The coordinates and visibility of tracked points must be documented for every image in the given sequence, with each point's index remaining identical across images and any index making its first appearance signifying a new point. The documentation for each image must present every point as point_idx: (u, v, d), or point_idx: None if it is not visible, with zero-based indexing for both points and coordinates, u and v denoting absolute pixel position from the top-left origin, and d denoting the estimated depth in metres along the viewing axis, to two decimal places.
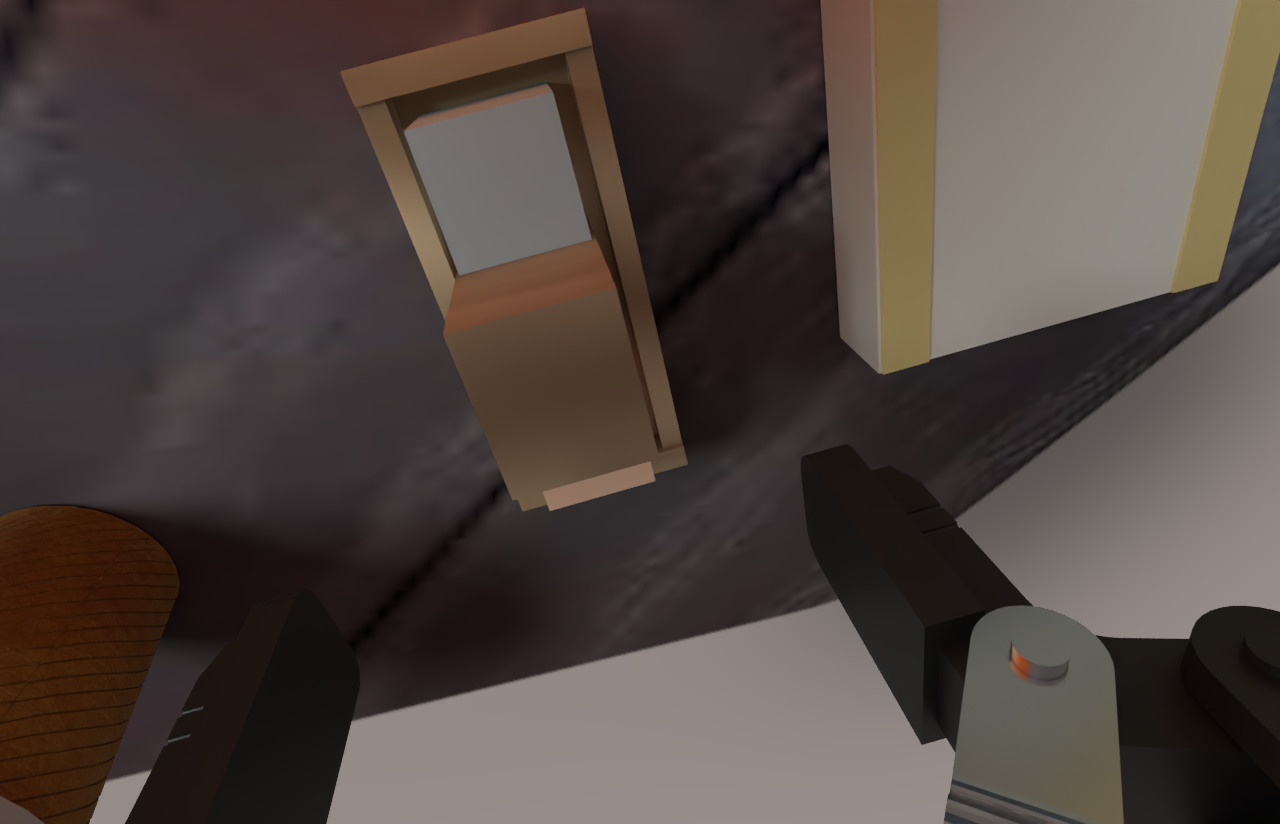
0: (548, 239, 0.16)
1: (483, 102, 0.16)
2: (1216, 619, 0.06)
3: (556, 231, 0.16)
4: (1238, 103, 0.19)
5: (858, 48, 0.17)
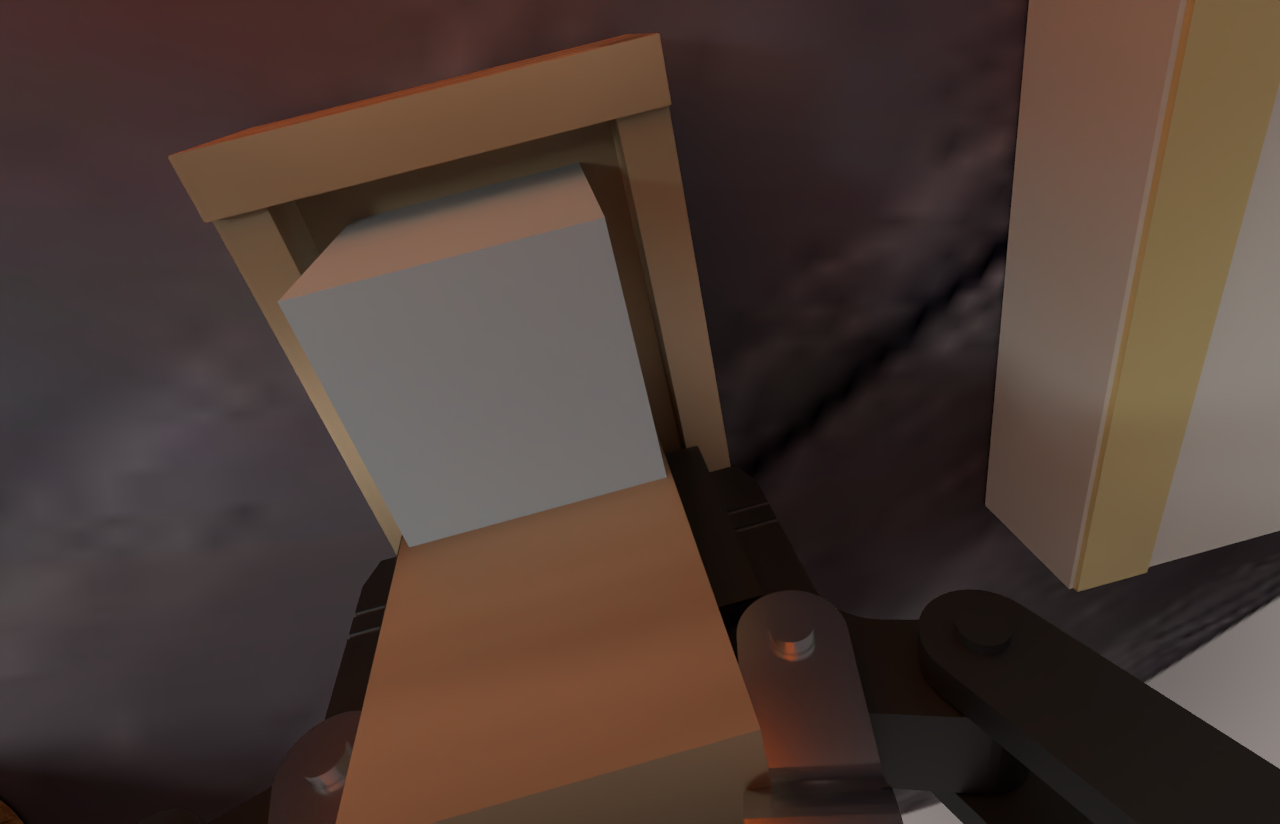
0: (583, 481, 0.08)
1: (461, 212, 0.08)
2: (933, 611, 0.07)
3: (599, 467, 0.08)
4: None
5: (1119, 112, 0.10)
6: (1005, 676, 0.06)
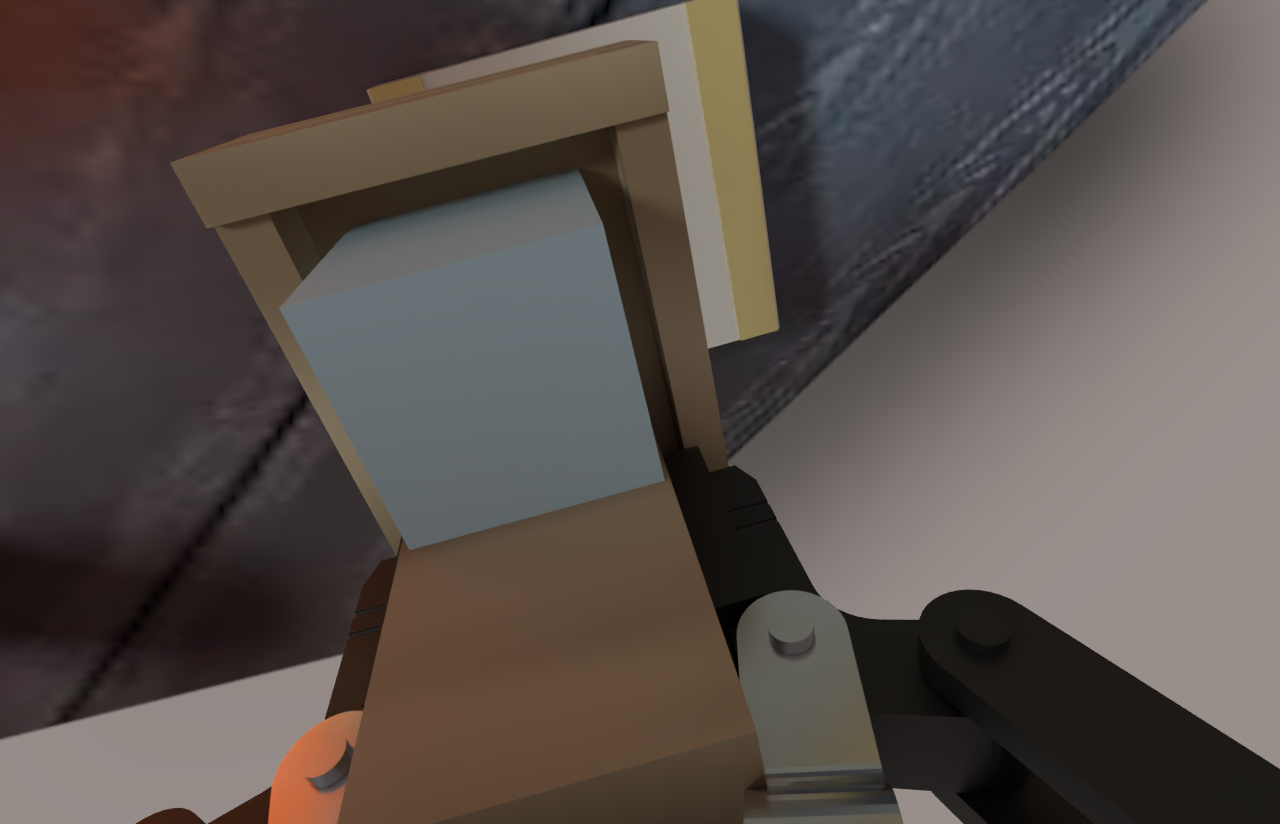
0: (582, 484, 0.08)
1: (461, 218, 0.08)
2: (933, 611, 0.07)
3: (598, 471, 0.08)
4: (736, 195, 0.24)
5: None
6: (1005, 676, 0.06)
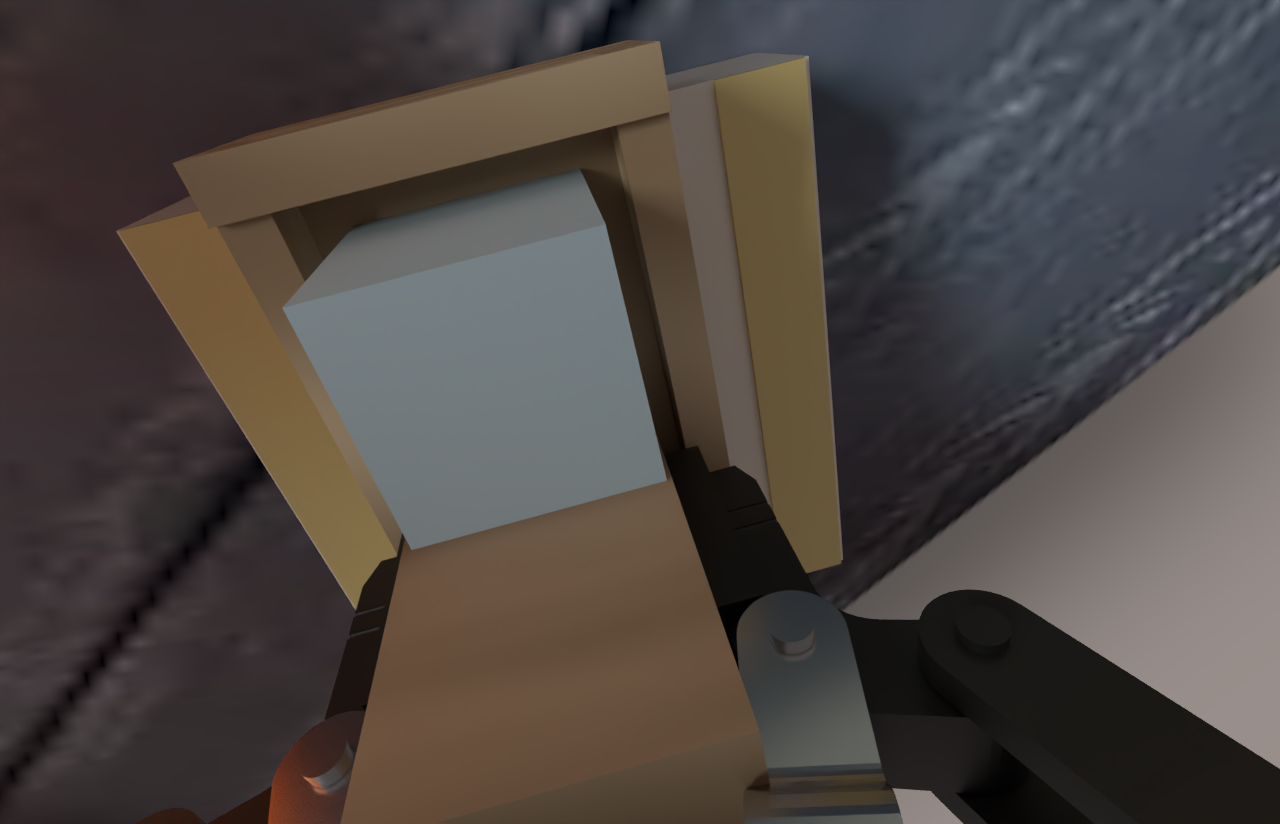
0: (584, 484, 0.08)
1: (463, 217, 0.08)
2: (933, 611, 0.07)
3: (600, 470, 0.08)
4: (788, 385, 0.14)
5: None
6: (1006, 676, 0.06)
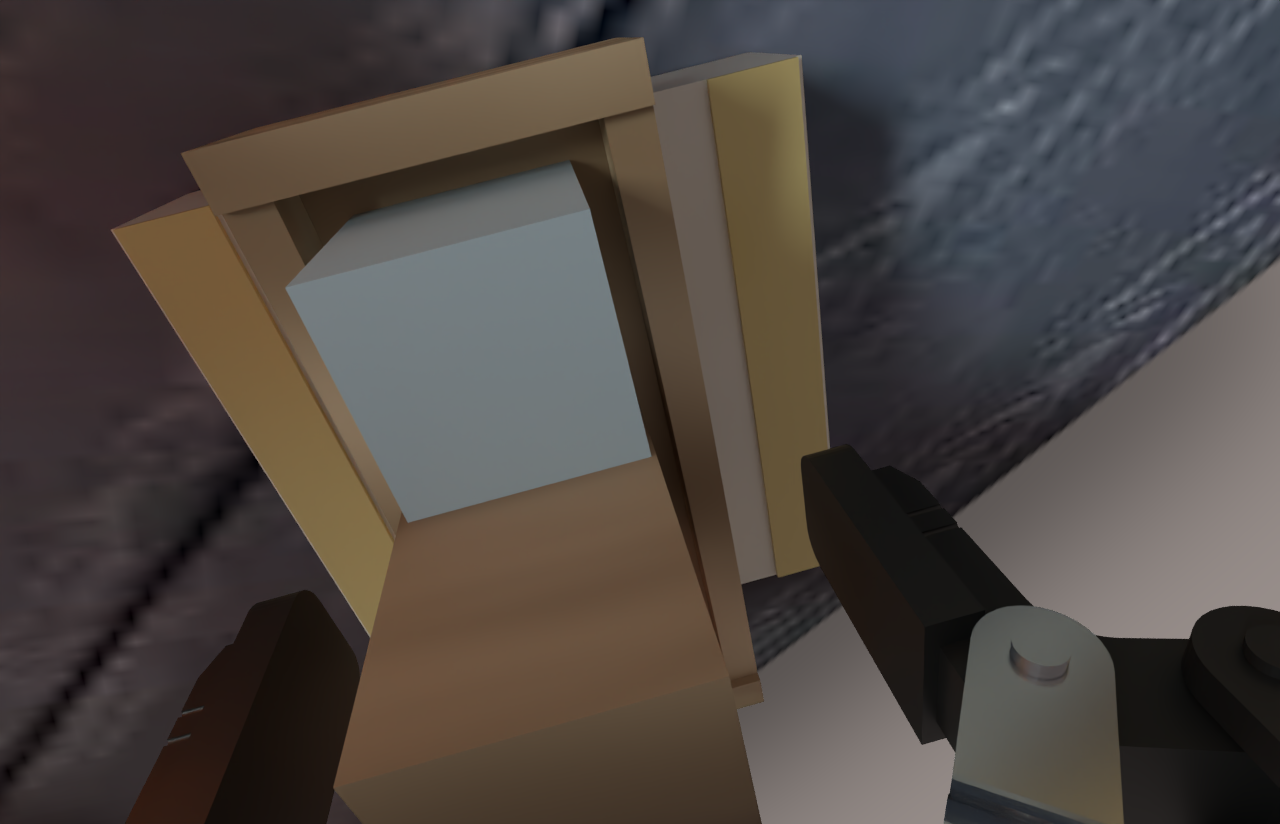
0: (572, 460, 0.09)
1: (457, 206, 0.09)
2: (1216, 619, 0.06)
3: (588, 446, 0.09)
4: (782, 384, 0.14)
5: None
6: None
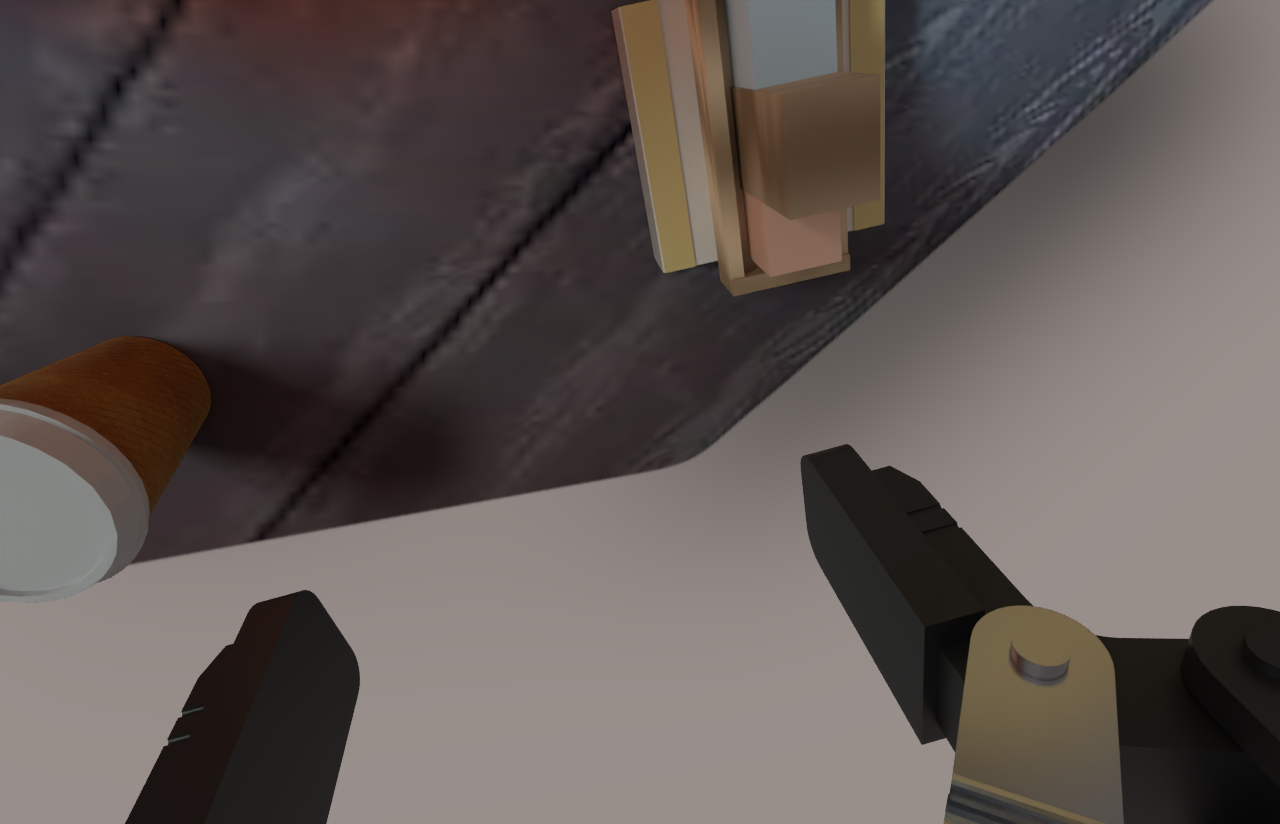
0: (812, 69, 0.26)
1: None
2: (1216, 619, 0.06)
3: (818, 64, 0.26)
4: None
5: (626, 67, 0.30)
6: None
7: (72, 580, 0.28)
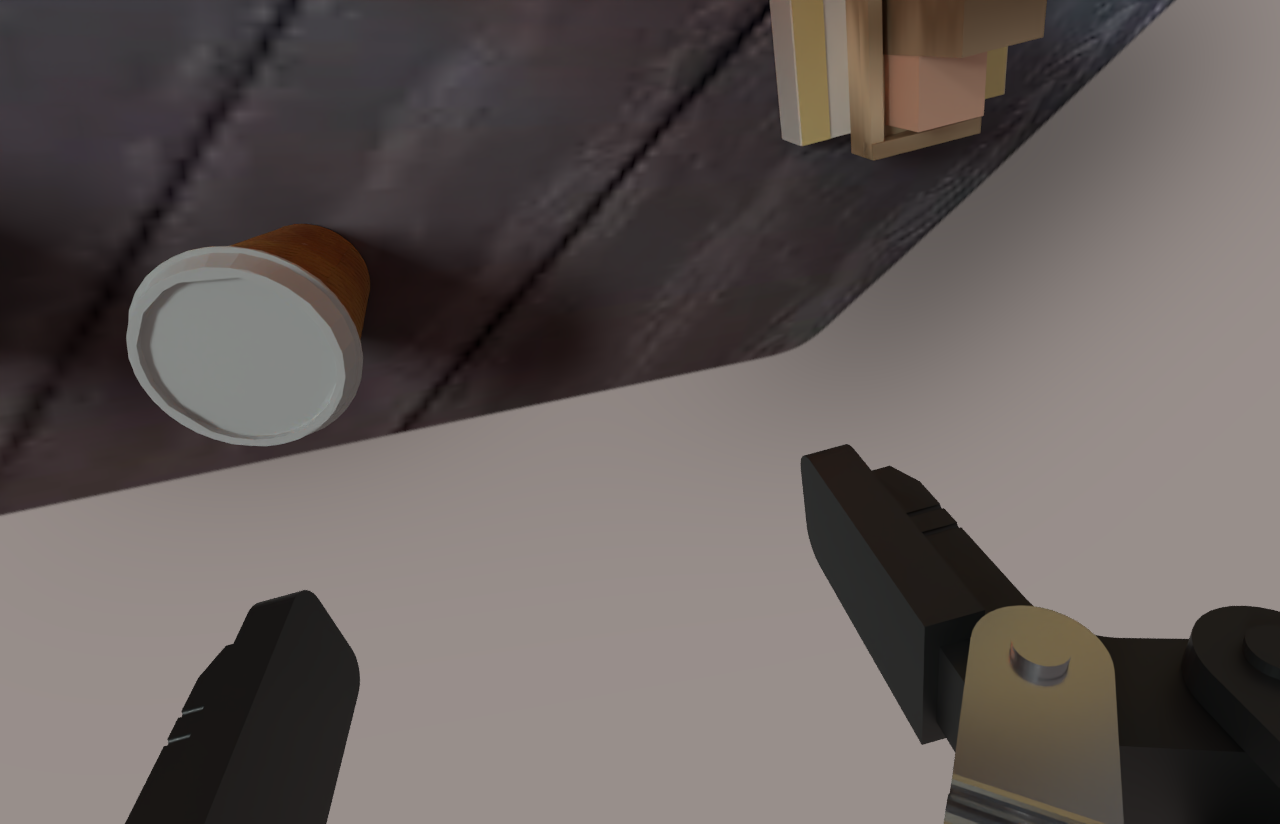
0: None
1: None
2: (1216, 619, 0.06)
3: None
4: None
5: None
6: None
7: (297, 425, 0.31)
